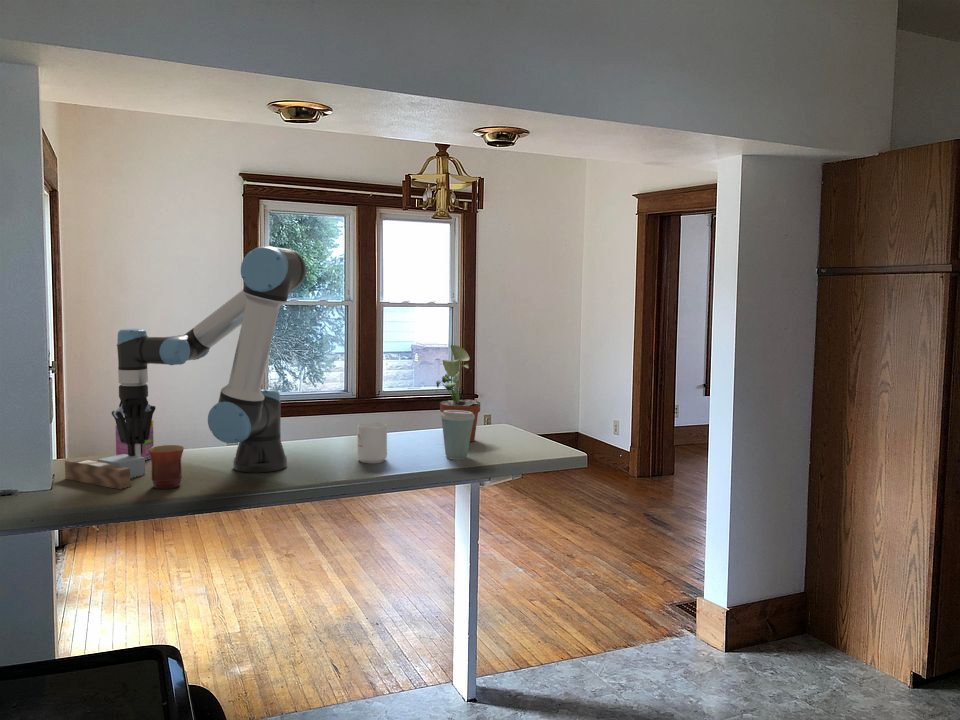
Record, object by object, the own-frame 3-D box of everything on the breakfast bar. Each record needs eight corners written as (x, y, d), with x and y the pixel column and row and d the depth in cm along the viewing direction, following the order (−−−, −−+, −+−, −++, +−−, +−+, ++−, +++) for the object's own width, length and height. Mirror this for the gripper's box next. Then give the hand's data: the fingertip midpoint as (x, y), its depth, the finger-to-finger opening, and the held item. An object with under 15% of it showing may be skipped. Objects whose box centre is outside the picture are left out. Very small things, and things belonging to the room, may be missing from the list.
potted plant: (429, 438, 274) (430, 338, 270) (469, 435, 280) (470, 338, 277) (447, 446, 260) (448, 342, 256) (488, 443, 266) (489, 341, 263)
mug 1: (179, 490, 202) (178, 452, 200) (144, 491, 201) (143, 452, 200) (192, 479, 213) (191, 442, 212) (159, 479, 213) (158, 442, 212)
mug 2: (391, 461, 237) (392, 425, 236) (365, 465, 232) (365, 428, 231) (373, 454, 247) (373, 419, 246) (348, 457, 242) (348, 422, 241)
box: (133, 465, 228) (132, 426, 226) (115, 464, 229) (114, 425, 228) (154, 458, 238) (153, 420, 237) (138, 457, 239) (137, 419, 238)
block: (145, 475, 218) (144, 457, 217) (120, 481, 211) (119, 463, 210) (123, 471, 222) (123, 453, 221) (98, 477, 215) (97, 459, 214)
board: (130, 486, 205) (129, 467, 204) (120, 489, 202) (120, 469, 202) (75, 476, 215) (74, 457, 214) (65, 478, 212) (64, 459, 211)
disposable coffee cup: (448, 452, 251) (448, 406, 249) (479, 455, 247) (480, 409, 246) (434, 459, 241) (435, 411, 240) (467, 462, 237) (467, 414, 236)
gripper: (143, 380, 226) (145, 460, 228) (103, 385, 214) (106, 469, 216) (161, 382, 222) (163, 463, 225) (122, 387, 211) (124, 473, 213)
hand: (135, 466), depth 220 cm, fingers closed
